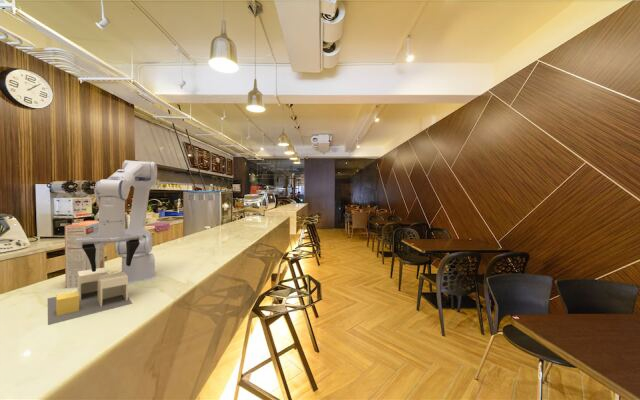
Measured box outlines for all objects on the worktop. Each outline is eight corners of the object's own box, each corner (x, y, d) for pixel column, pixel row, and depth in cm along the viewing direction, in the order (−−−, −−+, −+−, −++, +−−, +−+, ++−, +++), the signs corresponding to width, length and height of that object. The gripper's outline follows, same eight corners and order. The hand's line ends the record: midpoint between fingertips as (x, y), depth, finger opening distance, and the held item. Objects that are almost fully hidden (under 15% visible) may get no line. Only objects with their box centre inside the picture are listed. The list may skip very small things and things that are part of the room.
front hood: (123, 294, 75) (123, 271, 74) (127, 300, 71) (127, 276, 71) (97, 300, 70) (97, 276, 70) (100, 306, 66) (100, 281, 66)
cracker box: (84, 276, 90) (85, 220, 90) (105, 274, 93) (105, 220, 92) (63, 290, 77) (63, 225, 77) (87, 288, 80) (88, 224, 79)
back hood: (103, 289, 78) (103, 267, 78) (106, 294, 74) (106, 271, 74) (77, 294, 74) (77, 271, 73) (79, 300, 70) (79, 276, 69)
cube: (77, 305, 67) (77, 291, 66) (79, 310, 64) (79, 295, 64) (56, 310, 64) (56, 295, 63) (56, 315, 61) (56, 300, 61)
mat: (118, 285, 82) (118, 284, 82) (132, 305, 69) (132, 303, 69) (47, 300, 70) (47, 298, 70) (47, 327, 57) (47, 325, 57)
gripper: (78, 224, 62) (77, 277, 62) (146, 220, 73) (145, 265, 73) (75, 221, 67) (75, 270, 67) (140, 218, 78) (139, 261, 78)
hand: (111, 267), depth 70 cm, fingers open, 7 cm apart
